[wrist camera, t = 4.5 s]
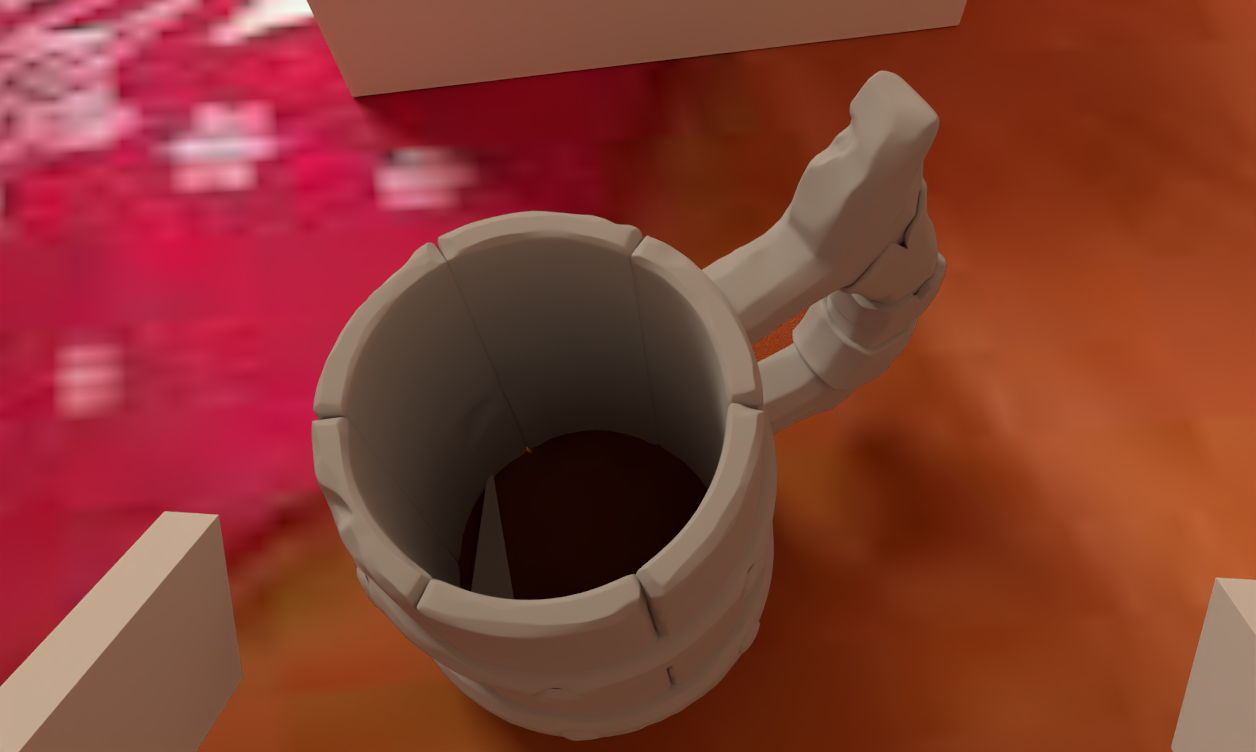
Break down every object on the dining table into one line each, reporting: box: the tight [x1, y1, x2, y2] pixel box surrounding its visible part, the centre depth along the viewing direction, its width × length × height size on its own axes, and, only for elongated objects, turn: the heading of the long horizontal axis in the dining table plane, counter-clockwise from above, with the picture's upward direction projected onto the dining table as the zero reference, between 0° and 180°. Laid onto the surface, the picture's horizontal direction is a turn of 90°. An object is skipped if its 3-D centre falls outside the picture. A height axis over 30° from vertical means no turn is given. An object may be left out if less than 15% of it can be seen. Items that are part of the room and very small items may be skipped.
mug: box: [312, 71, 946, 741], centre depth 19 cm, size 8×12×12 cm, turn 124°
